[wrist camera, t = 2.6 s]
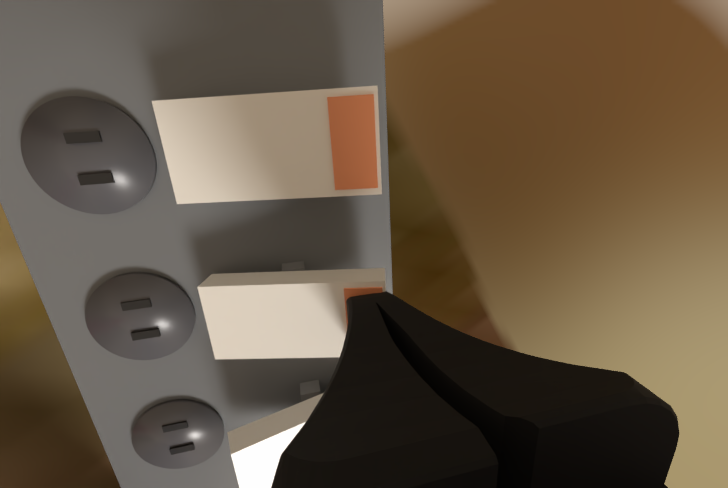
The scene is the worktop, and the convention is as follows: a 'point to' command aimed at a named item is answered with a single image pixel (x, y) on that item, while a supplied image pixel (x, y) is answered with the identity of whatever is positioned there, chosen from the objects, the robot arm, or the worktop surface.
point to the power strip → (170, 208)
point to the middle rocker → (283, 311)
